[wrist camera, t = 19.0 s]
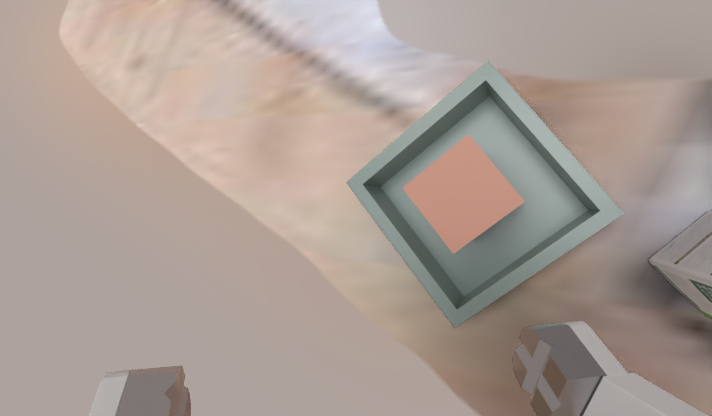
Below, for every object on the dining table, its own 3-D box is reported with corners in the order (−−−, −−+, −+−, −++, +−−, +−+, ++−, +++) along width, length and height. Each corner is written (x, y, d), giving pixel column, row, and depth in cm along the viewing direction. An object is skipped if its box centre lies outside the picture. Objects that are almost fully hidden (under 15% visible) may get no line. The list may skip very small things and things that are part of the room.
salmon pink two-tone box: (522, 202, 36) (526, 201, 25) (471, 239, 37) (453, 255, 26) (482, 154, 37) (468, 132, 26) (434, 192, 38) (401, 187, 27)
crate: (606, 212, 35) (624, 213, 29) (463, 310, 39) (454, 328, 33) (492, 82, 38) (488, 60, 32) (369, 185, 41) (346, 182, 36)
